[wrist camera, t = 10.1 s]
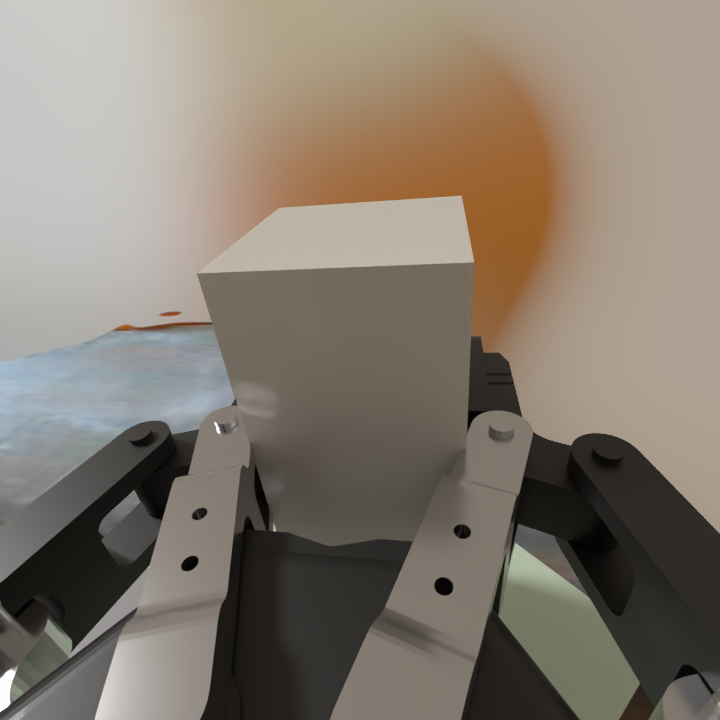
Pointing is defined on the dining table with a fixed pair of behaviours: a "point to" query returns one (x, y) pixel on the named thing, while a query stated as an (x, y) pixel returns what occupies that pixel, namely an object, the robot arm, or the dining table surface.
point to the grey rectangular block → (349, 359)
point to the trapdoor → (525, 637)
